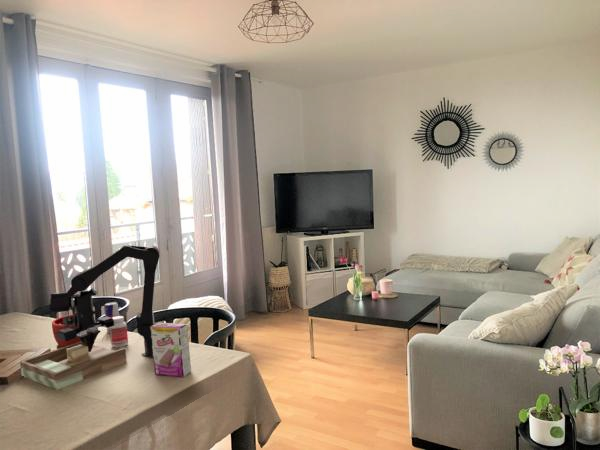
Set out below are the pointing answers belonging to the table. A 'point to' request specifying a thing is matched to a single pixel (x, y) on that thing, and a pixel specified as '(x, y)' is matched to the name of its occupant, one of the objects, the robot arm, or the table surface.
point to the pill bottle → (119, 332)
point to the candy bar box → (170, 349)
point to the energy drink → (111, 311)
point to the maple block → (77, 353)
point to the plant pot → (57, 327)
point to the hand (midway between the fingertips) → (89, 351)
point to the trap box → (70, 366)
